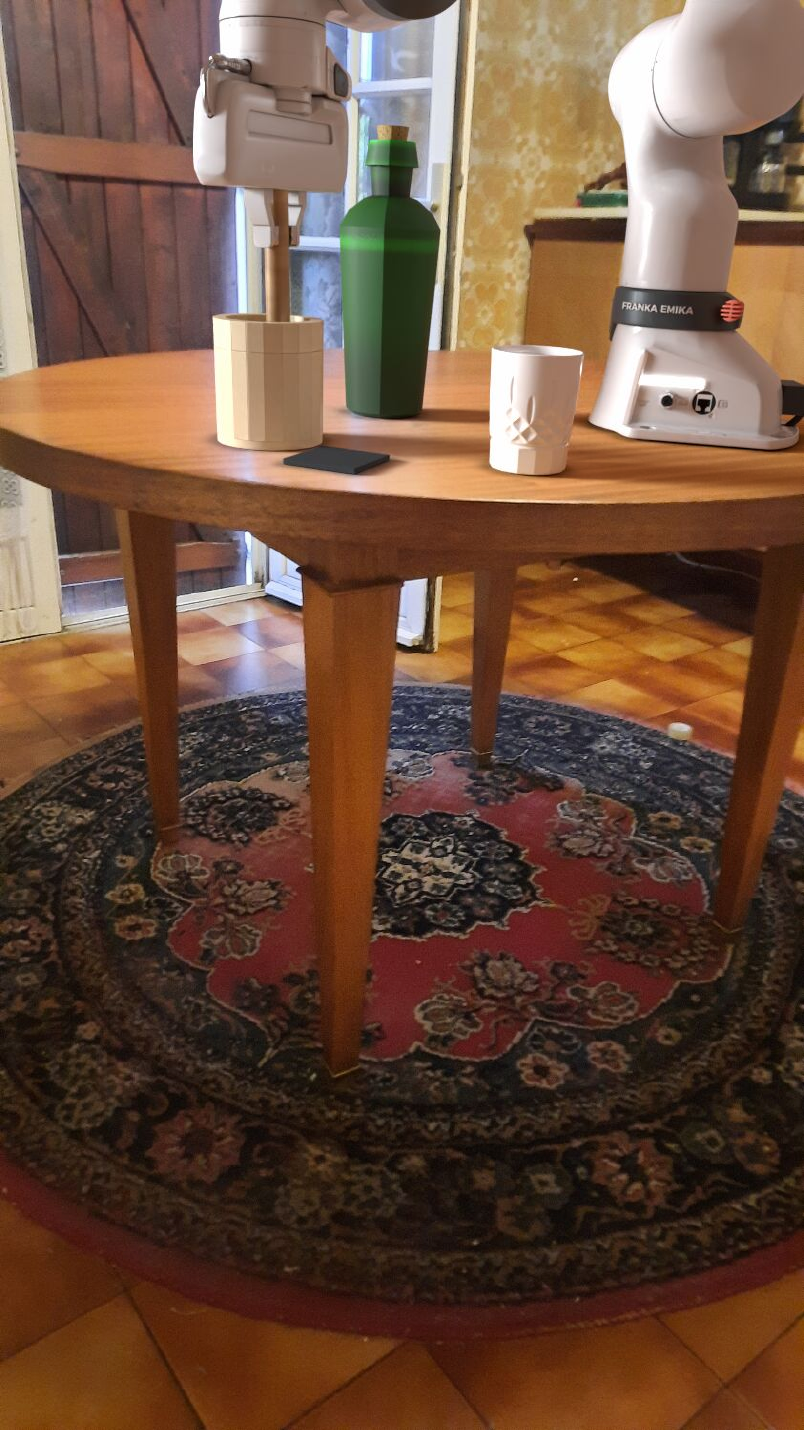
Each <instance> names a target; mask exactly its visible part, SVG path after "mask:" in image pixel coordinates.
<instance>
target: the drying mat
mask: <svg viewBox="0 0 804 1430" xmlns="http://www.w3.org/2000/svg"><path fill="white" fill-rule="evenodd" d="M282 460H283V461H282V464H283V465H287V466H294V467H301V468H308V469H314V470H320V471H321V470H322V471H327V472H328V471H329V472H335V473H341V474H349V475H356V474H359V473H361V472H363V471H366V470H369V469H372V468H374V467H376V466H379V465H381V464H384V463H387V462H389V461H390V460H391V455H390V454H389V453H388V454H386V453H379V452H371V451H365V450H358V449H351V448H344V447H336V446H329V445H319V446H316V447H313V448H311V449H308V450H304V451H301V452H299V453H296V454H293V455H290V456H287V457H284V458H283V459H282Z"/></svg>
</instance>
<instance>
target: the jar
mask: <svg viewBox="0 0 804 1430" xmlns="http://www.w3.org/2000/svg"><path fill="white" fill-rule="evenodd" d="M324 323H325V320H323V319H322V318H320V317H315V316H308V315H300V314H299V315H298V314H290V322H266V312H264V313H263V312H239V313H237V312H236V313H235V312H234V313H219V314H216V315H212V324H213V325H212V328H213V329H212V331H213V357H214V381H215V382H214V384H215V386H214V387H215V409H216V410H215V411H216V412H215V413H216V430H217V431H216V432H217V433H216V434H217V441H218V442H219V443H220V444H222V445H224V446H228V447H232V448H236V449H243V450H253V451H271V452H272V451H273V452H277V451H280V452H281V451H282V452H283V451H296V450H304V449H310V448H311V449H312V448H315V447H318V446H320V445H321V444H322V443H323V435H324V355H325V354H324V348H325V347H324V343H325V341H324V333H325V332H324V331H325V329H324V328H325V327H324V326H325V324H324Z"/></svg>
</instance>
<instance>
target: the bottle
mask: <svg viewBox="0 0 804 1430" xmlns="http://www.w3.org/2000/svg"><path fill="white" fill-rule="evenodd" d="M376 129H377V138H378V139H371V140H369V143H368V148H367V153H366V159H365V162H364V163H365V164H364V166H365V167H370V168H369V170H370V185H371V187H370V189H371V194H370V195H368V196H365V197H364V198H361V200H359V201H358V202H357V203H355V204H354V205H353V206H351V207H350V208H349V209H348V211H347V212H346V214H345V215H344V217H343V219H342V221H341V223H340V224H339V225H338V226H339V227H338V228H339V252H340V255H339V256H340V273H341V274H340V278H341V302H342V303H341V304H342V305H341V307H342V333H343V335H342V336H343V359H344V362H343V363H344V385H345V407H346V408H347V409H348V410H349V412H352V413H353V414H354V415H358V416H361V417H368V418H376V419H403V418H410V417H413V416H415V415H418V413H420V412H422V411H423V405H424V396H425V387H426V378H427V369H428V367H427V366H428V359H429V358H428V357H429V349H430V338H431V328H432V320H433V309H434V299H435V290H436V289H435V288H436V279H437V271H438V261H439V250H440V240H441V231H442V230H441V228H440V226H439V224H438V222H437V220H436V218H435V216H434V214H433V213H432V211H430V210H429V209H428V208H427V207H426V206H425V205H423V203H421V202H420V201H419V200H418V199H416V198H413V197H411V192H412V183H413V175H414V174H413V173H414V169H419V168H420V167H419V160H418V152H417V151H418V150H417V143H416V142H415V141H410V140H408V137H409V131H410V126H405V125H392V124H380V125H378V124H377V125H376Z"/></svg>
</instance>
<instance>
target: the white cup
mask: <svg viewBox="0 0 804 1430" xmlns="http://www.w3.org/2000/svg"><path fill="white" fill-rule="evenodd" d="M584 358H585V352H584V351H582V350H578V349H575V348H569V347H560V346H549V345H534V344H502V345H495V346H493V347H491V361H490V362H491V364H490V365H491V367H490V387H489V388H490V392H489V436H490V440H489V441H490V442H489V465H490V466H491V467H492V469H495V470H497V471H501V472H505V473H509V474H517V475H528V476H545V475H547V476H549V475H556V474H560V473H562V472H563V471H565V469H566V466H567V460H568V454H569V453H568V452H569V445H570V444H569V442H570V441H571V437H572V433H573V427H574V419H575V415H576V411H577V404H578V398H579V391H580V385H581V378H582V372H583V366H584Z"/></svg>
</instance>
